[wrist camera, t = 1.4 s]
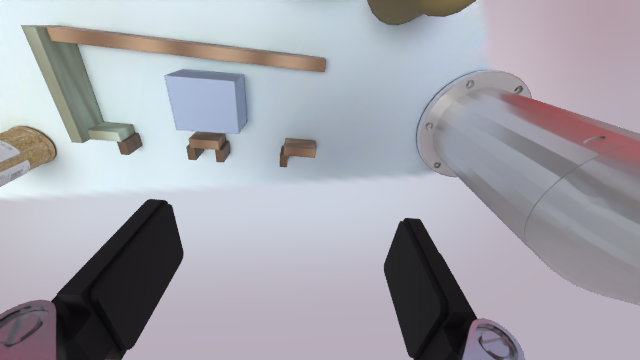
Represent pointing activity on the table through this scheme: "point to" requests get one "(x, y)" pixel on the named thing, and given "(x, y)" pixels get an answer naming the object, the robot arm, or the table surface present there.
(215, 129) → the block
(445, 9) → the cork
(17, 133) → the sprinkles bottle
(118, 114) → the table surface
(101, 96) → the table surface
